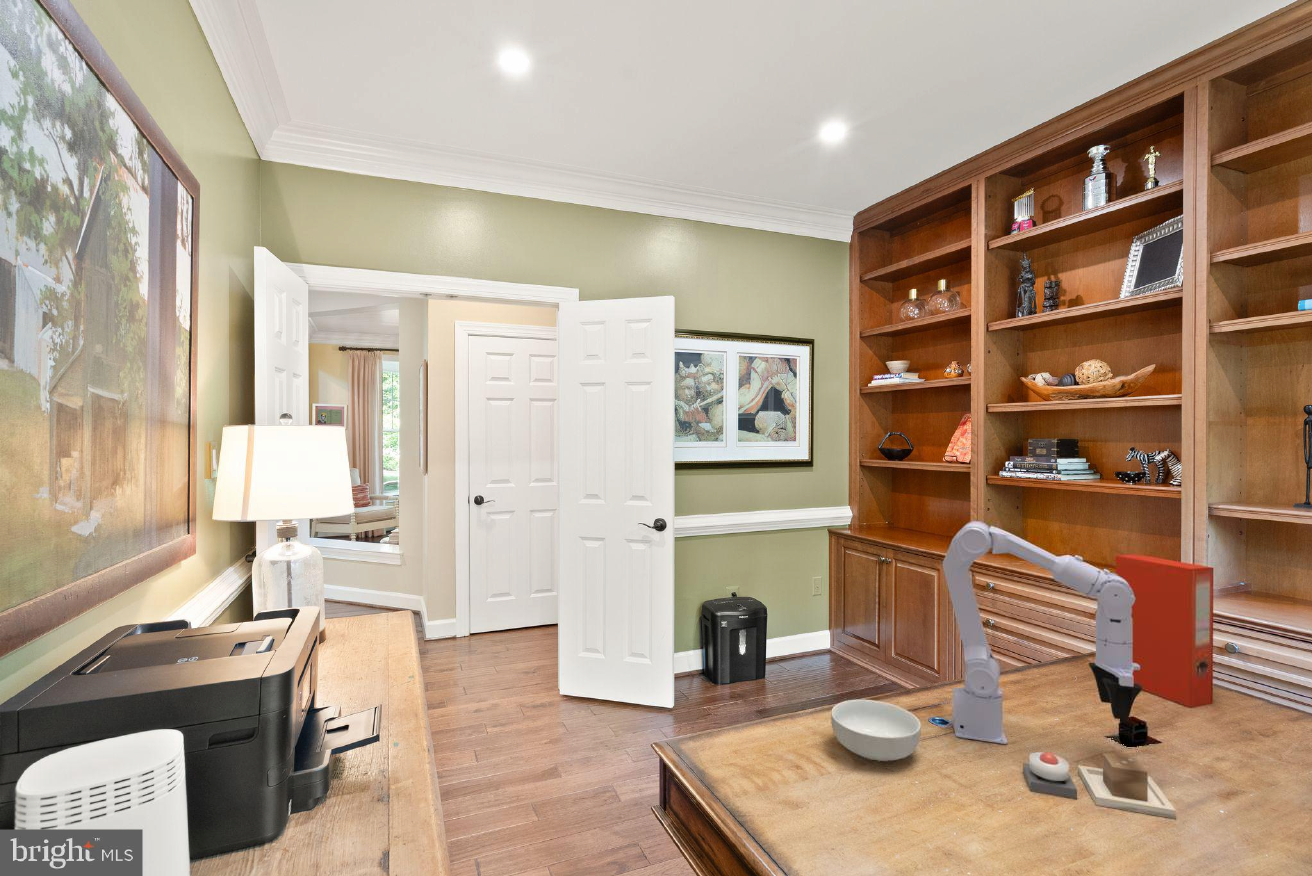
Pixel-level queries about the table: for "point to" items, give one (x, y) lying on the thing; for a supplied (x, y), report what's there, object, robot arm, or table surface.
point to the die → (1125, 777)
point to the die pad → (1104, 798)
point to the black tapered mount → (1133, 733)
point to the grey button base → (1049, 784)
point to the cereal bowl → (876, 729)
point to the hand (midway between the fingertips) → (1113, 710)
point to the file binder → (1171, 627)
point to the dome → (1049, 766)
